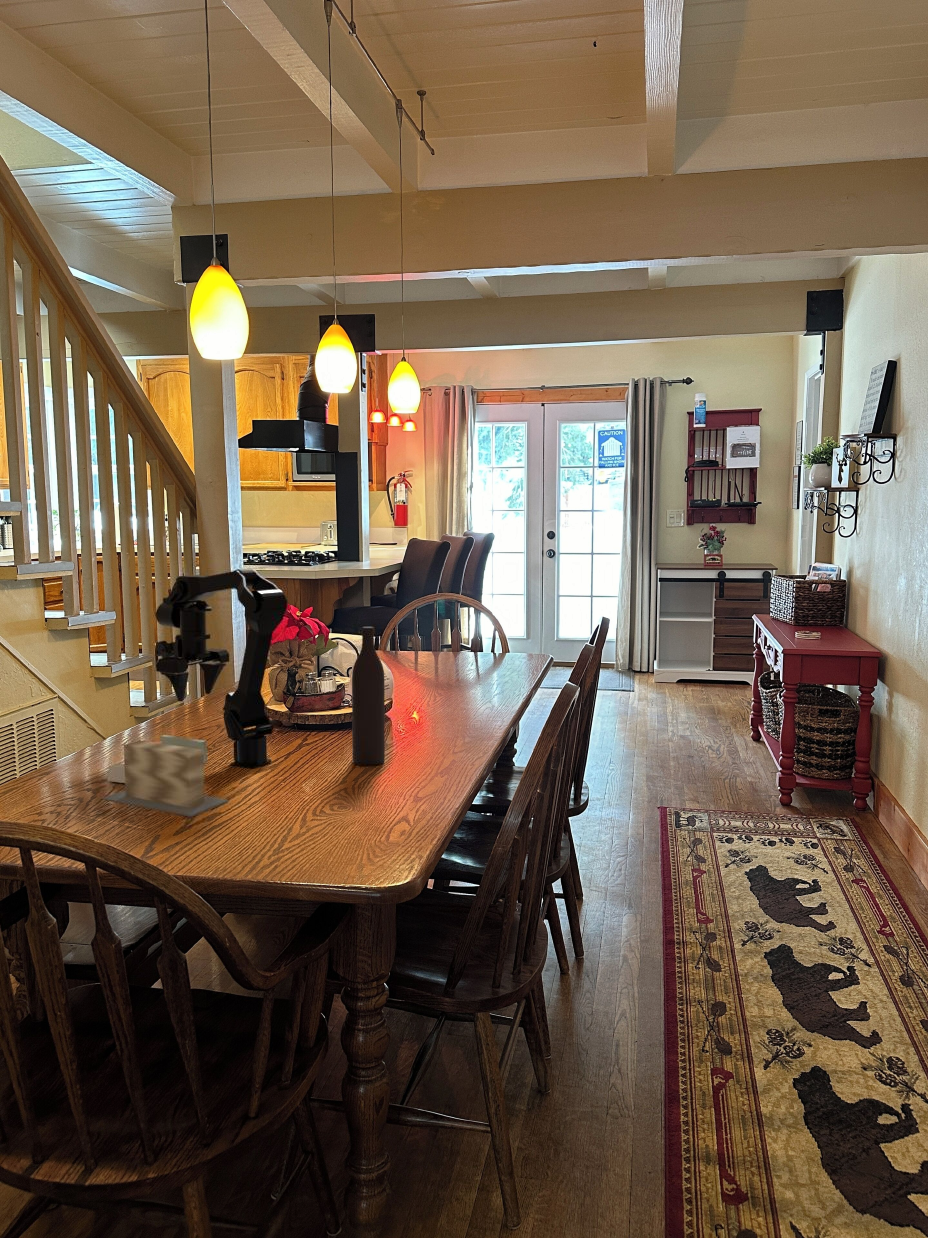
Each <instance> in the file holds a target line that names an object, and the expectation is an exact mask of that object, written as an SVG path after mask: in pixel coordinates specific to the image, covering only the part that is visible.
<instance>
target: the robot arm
mask: <svg viewBox="0 0 928 1238" xmlns="http://www.w3.org/2000/svg"><path fill="white" fill-rule="evenodd" d="M249 588H251V589H252V591H250V589H249ZM230 590H235V591H236V594H237V600H238V602H239V603H240V604H241V605H242V606H243V608H244V617H245V621H246V622H247V624H248V634H247V639H246V643H245V649H244V654H243V659H242V663H241V669H240V674H239V679H238V683H237V684H238V685H237V688H236V689H235V691H233V692H228V693H226V695H225V698H224V699H225V700H224V705H223V708H222V711H223V723H224V726H225V730H226V734H227V737H228V739H230V740H231V741H233V760H234V761H232V762H230V764H229V765H230V766H232V767H233V766H234V767H240V768H247V769H256V768H259V767H261V766H264V765H267V764H270V763H271V762H272V759H271V758H268V755H267V754H268V752H267V751H268V748H267V747H268V746H267V741H268V740H267V736H270V735H273V732H274V729H275V725H274V723H273V722H272V720H271V719H270V717H269V716H268V713H267V712H266V711H265V710H266V702H265V700H264V697H263V695H262V687H263V683H264V682H263V681H264V678H265V672H266V667H267V662H268V657H269V652H270V649H271V648H270V647H271V642H272V637H273V633H274V631H276V629H277V628H278V626H279V625H280V624H281V623H282V622H283V620H284V617H285V615H286V611H287V608H288V599H287V596H286V595H285V594H284V592H283V591H282V590H281V589H280V588H279V587H278V586H277V585H276V584H275V583H273V582H272V581H270V580H268V579H266V577H264V576H261V574H260V573H259V572H258V571H257V570H256V569H253V568H237V569H235V570H233V571H227V572H223V573H218V574H212V575H209V574H193V575H192V574H191V575H179V576H177V577H176V579H175V582H174V584H173V586H172V588H171V589H170V593H169V595H168V596H167V597H162V603H161V604H159V605H158V606H157V608H156V612H155V618H156V621H157V623H158V624H159V625H160V626H163V627H169V628H174V629H175V628H176V629H179V634H176V635H175V637H174V641H172V642H169V643H168V642H167V641H166V640H161V641H158V642H155V654H156V656H157V657H161V658H159V659H158V660H156V661H155V672H159V673H160V675H162V676H165V677H167V679H168V680H169V683H170V684H171V686H172V689H173V691H174V694H175V696H176V699H177V702H182V703H183V702H184V699H185V695H186V689H187V684H188V679H189V674H190V672H188V669H189V666H194V665H199V667H200V668H201V669H202V671H203V684H204V686H203V687H204V693H205V694H206V695H210V694H211V693H212V690H213V689H214V686H215V684H216V682H217V680H218V678H219V677H220V674H221V672H222V671H223V669H224V667H226V666H227V663H229V662H230V653H229V651H228V650H227V649H224V648H223V649H222V648H214V647H213V648H207V640H209V639H211V633H207V612H212V607H211V606H210V605H209V604H207V602H206V600H207V599H209V598H211V597H213V596H214V595H215V594H216V593H219V592H225V591H230Z"/></svg>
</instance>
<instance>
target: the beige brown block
mask: <svg viewBox="0 0 928 1238" xmlns="http://www.w3.org/2000/svg"><path fill="white" fill-rule="evenodd" d="M123 759H124V760H123V763H124V767H125V783H124V787H125V788H124V790H125V794H126V796H130V797H135V798H140V799H146V800H151V801H156V802H162V803H167V804H173V805H178V806H183V807H189V808H190V807H193V806H195V805H198V804H200V803H203V802H205V796H206V795H205V770H204V769H205V767H204V766H205V764H204V758H203V750H201V749H194V748H187V747H181V746H174V745H167V744H161V742H154V741H147V740H146V741H145V740H140V739H139V740H136V741H133V742H129V743H125V744H123Z"/></svg>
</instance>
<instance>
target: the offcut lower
mask: <svg viewBox="0 0 928 1238" xmlns="http://www.w3.org/2000/svg"><path fill="white" fill-rule="evenodd" d="M107 769H108V770H107V782H115V783H119V784H120V783H121V784H122V783H123V784H125V767H124V764H123V763H120V764H114V765H113V764H112V765H108V767H107Z"/></svg>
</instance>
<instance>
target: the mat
mask: <svg viewBox="0 0 928 1238" xmlns="http://www.w3.org/2000/svg"><path fill="white" fill-rule="evenodd" d="M101 799H102V800H103V801H108V802H114V803H119V804H124V805H129V806H134V807H140V808H145V809H150V810H156V811H161V812H166V813H171V814H177V815H179V816H184V817H187V818H193V817H195V816H197V815H199V814H203V813H205V812H207V811H209V810H212V809H214V808H217V807H219V806H221V805H224V804H226V803H228V802H229V799H225V798H221V797H215V796H209V795H205V802H203V803H200V804H198V805H195V806H193V807H190V808H189V807H183V806H178V805H173V804H167V803H162V802H156V801H151V800H146V799H140V798H135V797H130V796H126V794H125V789H124V790H120V791H118V792H116V793H115V792H114V793H113V794H110V795H107V796H104V797H102V798H101Z"/></svg>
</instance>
